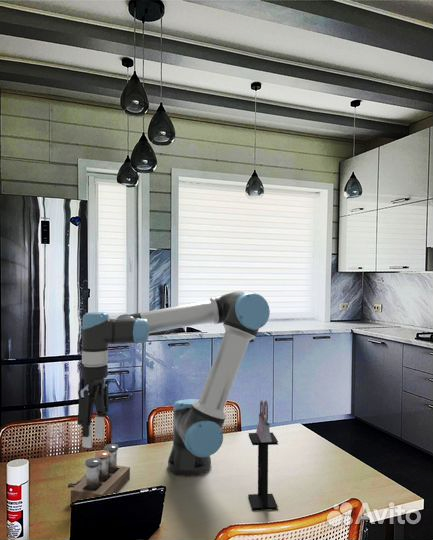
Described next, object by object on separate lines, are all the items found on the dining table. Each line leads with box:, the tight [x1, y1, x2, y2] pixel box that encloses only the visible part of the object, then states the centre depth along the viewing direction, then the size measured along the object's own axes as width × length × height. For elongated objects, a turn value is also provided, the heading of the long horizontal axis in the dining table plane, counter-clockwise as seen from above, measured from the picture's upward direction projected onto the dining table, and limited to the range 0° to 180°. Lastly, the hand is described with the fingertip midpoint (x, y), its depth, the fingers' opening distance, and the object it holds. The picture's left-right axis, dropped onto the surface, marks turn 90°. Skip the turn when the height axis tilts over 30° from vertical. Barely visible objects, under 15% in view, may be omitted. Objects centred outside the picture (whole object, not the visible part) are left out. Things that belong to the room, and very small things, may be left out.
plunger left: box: [84, 457, 101, 491], centre depth 122 cm, size 4×4×8 cm
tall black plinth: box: [247, 400, 279, 512], centre depth 121 cm, size 10×8×30 cm
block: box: [70, 465, 131, 504], centre depth 127 cm, size 10×18×4 cm, turn 166°
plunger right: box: [103, 443, 119, 474], centre depth 132 cm, size 4×4×8 cm
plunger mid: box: [94, 450, 110, 482], centre depth 127 cm, size 4×4×8 cm
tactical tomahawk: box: [67, 472, 87, 489], centre depth 139 cm, size 21×7×1 cm, turn 165°
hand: (93, 442), depth 122 cm, fingers open, 6 cm apart
